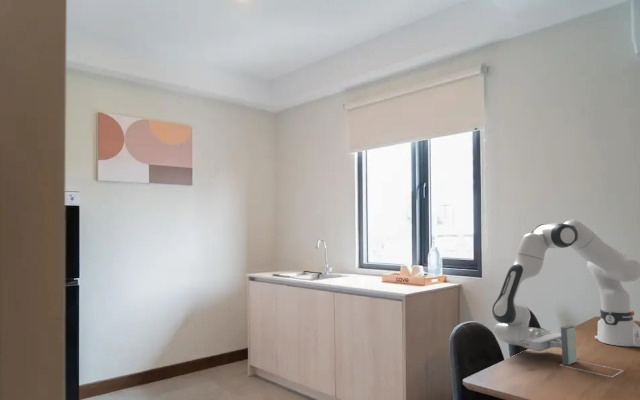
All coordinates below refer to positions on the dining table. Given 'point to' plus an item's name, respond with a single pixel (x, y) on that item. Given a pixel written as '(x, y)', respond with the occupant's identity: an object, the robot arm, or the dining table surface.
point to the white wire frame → (593, 372)
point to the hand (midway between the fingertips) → (565, 345)
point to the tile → (568, 344)
